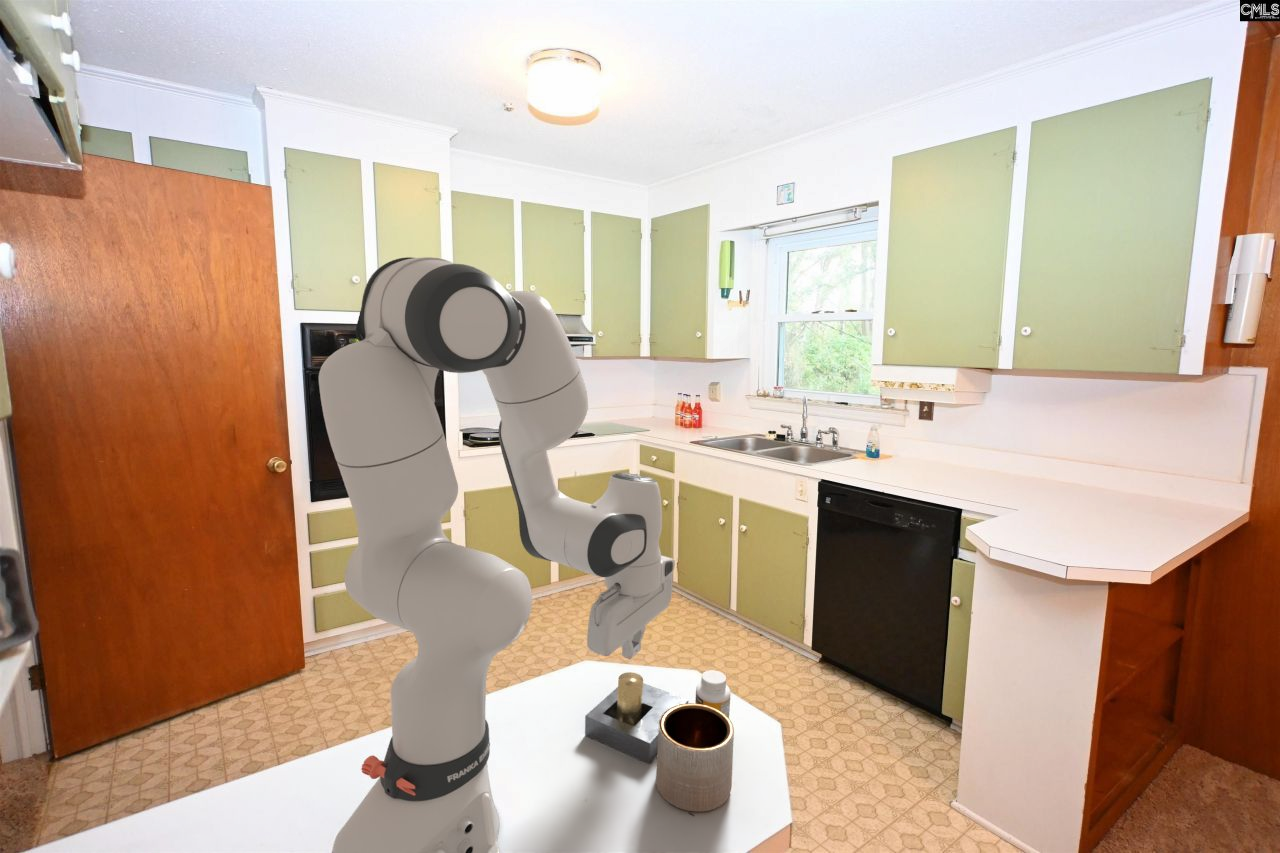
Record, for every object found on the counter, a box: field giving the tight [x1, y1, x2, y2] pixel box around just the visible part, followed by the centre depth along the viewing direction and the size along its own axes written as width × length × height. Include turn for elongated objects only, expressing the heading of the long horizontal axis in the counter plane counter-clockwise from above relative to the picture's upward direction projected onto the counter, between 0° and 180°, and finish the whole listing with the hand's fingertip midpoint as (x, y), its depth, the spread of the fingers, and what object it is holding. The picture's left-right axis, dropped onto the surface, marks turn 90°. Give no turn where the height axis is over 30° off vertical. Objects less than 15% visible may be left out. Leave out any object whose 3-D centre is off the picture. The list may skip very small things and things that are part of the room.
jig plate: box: [584, 682, 689, 765], centre depth 99 cm, size 13×12×4 cm
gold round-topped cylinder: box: [616, 671, 644, 727], centre depth 98 cm, size 4×4×9 cm
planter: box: [655, 702, 735, 813], centre depth 86 cm, size 11×11×10 cm
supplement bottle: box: [694, 669, 731, 719], centre depth 97 cm, size 6×6×10 cm
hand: (631, 654), depth 97 cm, fingers closed
